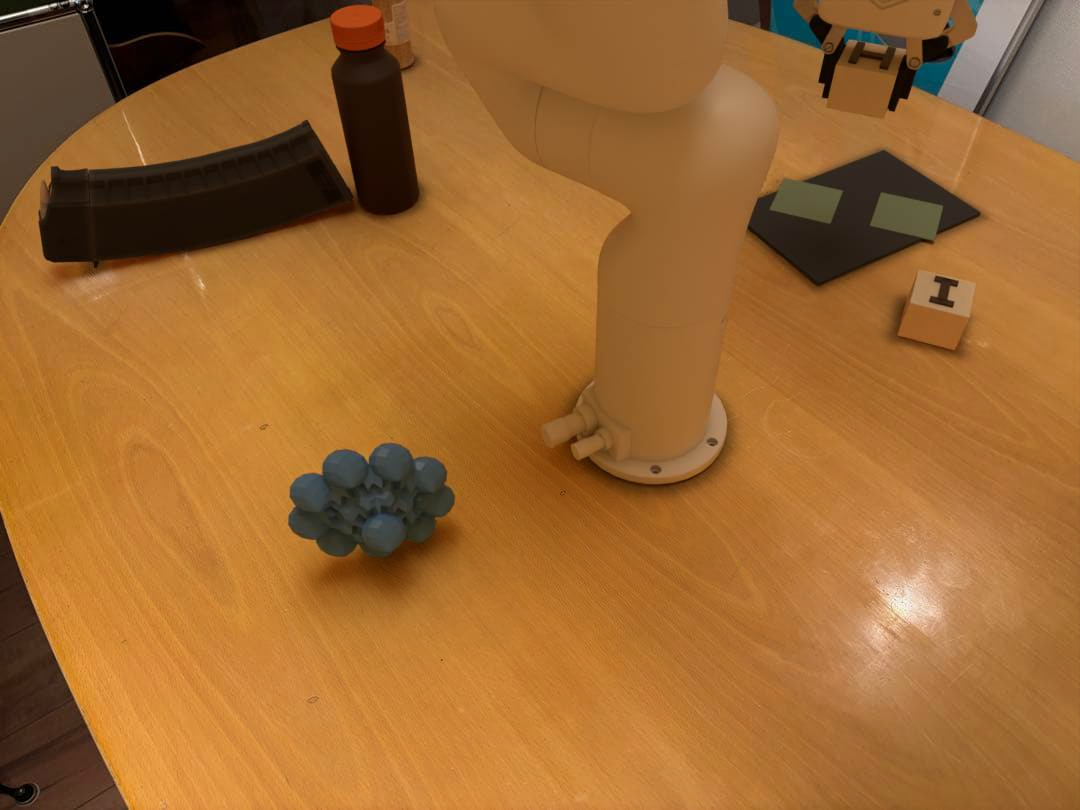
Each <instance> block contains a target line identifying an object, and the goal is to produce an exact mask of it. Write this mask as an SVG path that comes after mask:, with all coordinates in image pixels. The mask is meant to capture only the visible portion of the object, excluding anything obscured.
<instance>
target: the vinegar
mask: <svg viewBox="0 0 1080 810" xmlns="http://www.w3.org/2000/svg"><path fill="white" fill-rule="evenodd" d="M329 24H330V28H331V33H332V38H333V42H334V44H335V49H336V50H337V51H338V52H339V55H338V56H337V58H336V59H335V61H334V63H333V64H332V66H331V67H330V76H331V81H332V85H333V90H334V95H335V100H336V105H337V109H338V114H339V119H340V122H341V128H342V132H343V137H344V141H345V146H346V150H347V151H346V152H347V155H348V160H349V164H350V165H349V166H350V170H351V174H352V178H353V183H354V189H355V192H356V197H357V201H358V204H360V206H361V207H362V208H364V209H365V210H367V211H369V212H372V213H376V214H379V215H380V214H381V215H382V214H383V215H390V214H396V213H399V212H403V211H405V210H407V209H408V208H409V207H411V206H413V205H414V204H415V203H416V202H417V200H418V198H419V195H420V187H419V179H418V175H417V167H416V166H417V165H416V161H415V160H416V159H415V154H414V148H413V140H412V134H411V127H410V120H409V114H408V108H407V107H408V106H407V102H406V95H405V87H404V82H403V81H404V80H403V74H402V69H401V68H400V63H399V61H398V60H397V59H396V57H395V56H394V55H393V54H391V53H390V52H388V51H387V50H386V49H384V45H385V43H386V35H385V27H384V21H383V15H382V12H381V10H379V9H378V8H375V7H373V6H372V5H367V4H354V5H349V6H345V7H341V8H339V9H337V10H335V11H334V12H332V14H331V15H330V16H329Z"/></svg>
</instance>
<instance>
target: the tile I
mask: <svg viewBox="0 0 1080 810" xmlns="http://www.w3.org/2000/svg"><path fill="white" fill-rule="evenodd" d="M976 288H977V283H976V282H975V281H974V282H973V281H969V280H965V279H960V278H956V277H954V276H949V275H944V274H940V273H936V272H932V271H928V270H923V269H920V268H919V269H918V270H917V272H916V275H915V278H914V280H913V283H912V285H911V288H910V291H909V293H908V296H907V298H906V301H905V305H904V309H903V312H902V316H901V319H900V324H899V327H898V331H897V335H896V336H898V337H902V338H906V339H909V340H913V341H917V342H920V343H925V344H928V345H931V346H936V347H939V348H944V349H947V350H950V351H955V350H956V348H957V346H958V344H959V342H960V339H961V337H962V335H963V333H964V331H965V329H966V327H967V324H968V322H969V320H970V318H971V313H972V308H973V302H974V298H975V292H976Z"/></svg>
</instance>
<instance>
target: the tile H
mask: <svg viewBox="0 0 1080 810" xmlns="http://www.w3.org/2000/svg"><path fill="white" fill-rule="evenodd" d="M845 44H846V47H845V49H844V51H843V53H842V55H841V57H840V59H839V60H838V62H837V64H836V67H835V71H834V75H833V80H832V84H831V88H830V92H829V97H828V99H827V102H826V106H825V108H826V109H830V110H835V111H841V112H846V113H849V114H856V115H860V116H865V117H871V118H874V119H875V118H876V119H880V120H884V119H885V117H886V114H887V111H888V109H887V108H888V105H889V101H890V98H891V94H892V91H893V88H894V84H895V81H896V77H897V74H898V68H899V66H900V63H901V61H902V59H903V56H904V55H906V53H907V51H906V48H900V47H895V46H890V45H883V44H877V43H872V42H868V41H867V42H866V41H860V40H855V39H848V40H847V42H846V43H845Z"/></svg>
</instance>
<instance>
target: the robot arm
mask: <svg viewBox="0 0 1080 810" xmlns="http://www.w3.org/2000/svg"><path fill="white" fill-rule="evenodd" d="M432 3H433V10H434V15H435V18H436V22H437V26H438V29H439V32H440V33H441V36H442V38H443V41H444V42H445V44H446V47H447V48H448V50H449V52H450V54H451V55H452V57H453V59H454V60H455V62H456V64H457V65H458V67H459V68H460V70H461V72H463V74H464V76H465V78H466V79H467V80H468V82H469V84H470V86H471V87H472V88H473V90H474V92H475V93H476V95H477V96H478V98H479V100H480V101H481V102H482V104H483V106H484V107H485V109H486V110H487V112H488V113H489V115H490V116H491V117H492V120H494V122H495V124H496V125H497V127H498V129H499V130H500V131H501V133H502V135H504V138H506V140H507V141H508V142H509V143H510V145H512V147H513V148H514V149H515V150H516V151H517V152H518V153H520V155H522V156H523V157H524V158H526V159H527V160H529V161H530V162H532V163H534V164H536V165H537V166H539V167H541V168H544V169H546V170H548V171H550V172H552V173H555V174H557V175H560V176H562V177H565V179H566V178H567V179H568V180H571V181H574V182H576V183H578V184H581V185H583V186H585V187H587V188H591V189H592V190H595V191H597V192H599V193H600V194H601V195H602V196H605V197H608V198H610V199H612V200H615V201H616V202H619V203H620V204H621V205H623V206H624V207H625V208H626V209H627V210H629V212H630V214H628V215H627V216H626V217H624V218H623V219H622V220H620V221H619V222H618V223H617V224H616V225H615V226H614V227H613V229H612V230H611V231H610V232H609V233H608V235H607V236H606V237H605V239H604V241H603V243H602V246H601V248H600V251H599V255H598V261H597V273H596V276H597V277H596V279H597V281H596V284H597V289H596V290H597V292H596V294H597V295H596V318H595V319H596V323H595V326H596V327H595V346H594V347H595V348H594V375H593V377H594V378H593V380H592V381H591V382H590V383H589V384H588V385H587V386H586V387H585V388H584V389H582V391H581V394H580V396H579V397H578V400H577V402H576V405H575V407H572V411H571V413H570V414H567V415H565V416H563V417H558V418H556V419H553V420H551V421H549V422H547V423H544V424H542V425H540V426H539V432H540V436H541V438H542V440H543V442H544V444H545V445H546V446H547V447H548V448H549V449H551V448H554V447H556V446H558V445H561V444H563V443H565V442H567V441H570V440H571V438H573V437H576V439H577V441H576V442H573V443H571V444H570V451H571V454H572V456H573V457H574V458H575V459H576V460H577V461H581V460H582V459H586V458H587V457H588V458H589V459H590V460H591V462H593V463H594V464H595V465H596V466H598V467H599V468H600V469H601V470H603V471H604V472H607V473H609V474H610V475H612V476H614V477H617V478H620V479H623V480H625V481H627V482H632V483H638V484H643V485H666V484H674V483H678V482H681V481H684V480H687V479H690V478H692V477H694V476H696V475H698V474H700V473H702V472H703V471H704V470H706V469H707V468H708V467H710V466H711V465H712V464H713V462H714V461H715V460H716V459H717V458H718V457H719V455H720V454H721V451H722V449H723V447H724V446H725V441H726V437H727V432H728V418H727V411H726V409H725V407H724V405H723V402H722V400H721V399H720V397H719V396H718V395H717V393H716V392H715V391H716V384H717V379H718V373H719V368H720V362H721V357H722V353H723V352H722V351H723V347H724V342H725V336H726V331H727V325H728V318H729V313H730V308H731V303H732V297H733V293H734V287H735V282H736V277H737V271H738V266H739V261H740V259H741V253H742V248H743V245H744V241H745V238H746V237H745V236H746V233H747V230H748V228H747V227H748V224H749V221H750V218H751V215H752V212H753V209H754V207H755V204H756V202H757V199H758V198H759V197H760V193H761V191H762V189H763V186H764V184H765V182H766V179H767V176H768V174H769V171H770V169H771V167H772V163H773V160H774V158H775V155H776V152H777V147H778V142H779V138H780V132H781V131H780V127H781V125H780V123H781V121H780V116H779V115H780V114H779V110H778V107H777V105H776V103H775V101H774V99H773V98H772V96H771V94H770V93H769V92H768V91H767V90H766V88H765V87H764V86H763V85H762V84H760V82H758V81H757V80H755V79H754V78H753V77H751V76H750V75H748V74H747V73H745V72H743V71H741V70H740V69H737V68H735V67H733V66H732V65H729V64H726V63H724V62H723V61H724V57H725V53H726V48H727V43H728V37H729V25H730V24H729V23H730V22H729V8H728V5H729V4H728V0H432ZM792 7H793V9H794V10H795V11H796V12H797V13H798V15H799V16H800V18H802V20H804V22H806V23H807V24H808V27H809V29H810V30H811V32H812V33H813V35H814V37H815V38H816V39H817V41H818V42H819V43H820V45H821V51H822V52H823V58H822V62H821V67H820V72H819V75H818V80H817V83H818V84H823V90H822V93H821V99H826V100H828V97H829V92H830V88H831V84H832V80H833V75H834V71H835V67H836V64H837V62H838V60H839V59H840V57H841V55H842V53H843V51H844V49H845V47H846V44H847V43H846V40H845V37H844V35H845V34H846V32H847V30H848V29H850V30H856V31H862V32H868V33H874V34H880V35H884V36H885V35H886V36H891V37H898V38H903V39H905V40H906V41H905V42H906V45H905V47H906V48H905V49H906V55H904V56H903V59H902V61H901V63H900V66H899V68H898V74H897V77H896V81H895V84H894V88H893V91H892V94H891V98H890V101H889V105H888V108H887V110H888V111H889V112H892V113H895V112H896V109H897V106H898V104H899V101H900V99H901V100H909V96H910V94H911V90H912V88H913V85H914V82H915V78H916V74H917V71H918V69H920V68H921V67H922V65H923V64H925V63H927V62H928V61H930V60H931V59H933V58H935V57H937V56H938V55H940V54H942V53H944V52H945V51H946V50H947V49H949V48H951V47H955V46H956V45H959V44H961V43H964V42H966V41H968V40H970V39H972V38H973V37H974V36H975V35H976V34H977V29H978V26H979V25H978V22H977V19H976V16H975V15H974V12H973V11H972V8H971V6H970V3H969V2H968V0H794V1H793V3H792ZM949 19H951V21H952V23H953V24H952V25H950V26H949V27H947V28H946V25H947V24H948V22H949Z"/></svg>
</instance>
